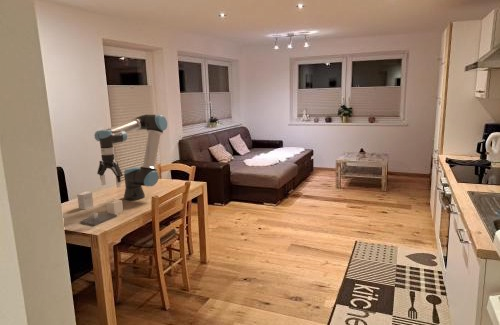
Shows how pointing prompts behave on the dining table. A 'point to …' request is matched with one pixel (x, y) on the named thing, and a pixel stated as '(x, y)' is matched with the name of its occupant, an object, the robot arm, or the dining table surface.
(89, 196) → the small box
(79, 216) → the dining table surface
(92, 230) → the dining table surface
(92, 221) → the shaft plate
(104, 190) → the dining table surface
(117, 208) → the white block
